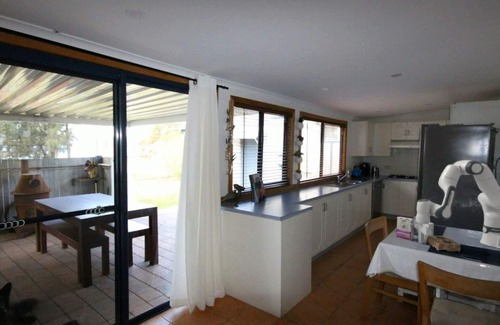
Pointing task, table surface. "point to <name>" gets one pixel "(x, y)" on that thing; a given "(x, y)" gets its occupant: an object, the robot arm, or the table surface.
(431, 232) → the supplement box
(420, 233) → the plug
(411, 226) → the candy bar box
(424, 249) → the table surface
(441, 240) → the socket block
